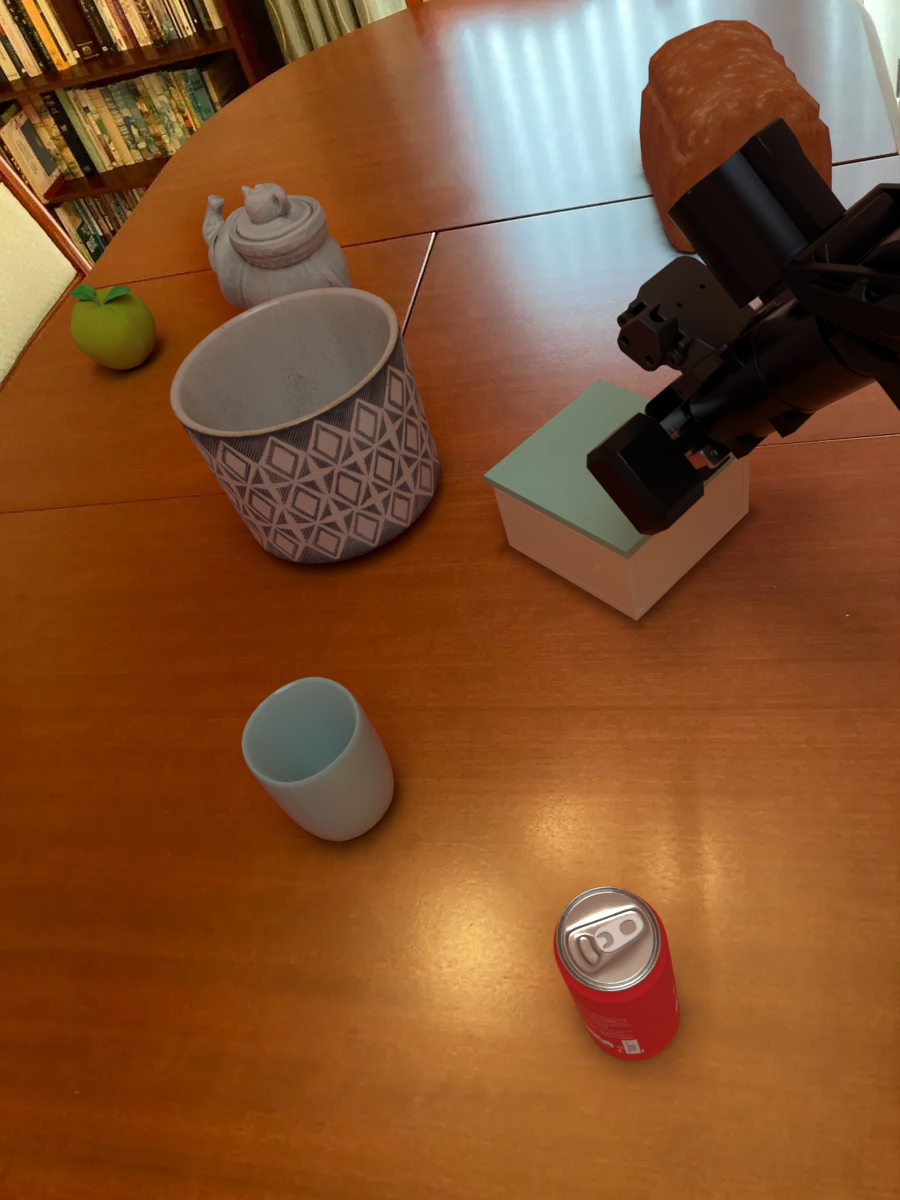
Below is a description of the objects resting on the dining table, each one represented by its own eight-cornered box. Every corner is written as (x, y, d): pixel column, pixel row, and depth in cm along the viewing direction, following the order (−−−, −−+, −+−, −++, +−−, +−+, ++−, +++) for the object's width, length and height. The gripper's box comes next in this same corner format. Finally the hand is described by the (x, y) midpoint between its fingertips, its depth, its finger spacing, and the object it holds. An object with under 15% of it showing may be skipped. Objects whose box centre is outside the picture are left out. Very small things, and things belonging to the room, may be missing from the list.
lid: (485, 482, 69) (483, 475, 68) (600, 386, 73) (599, 378, 73) (627, 559, 60) (626, 552, 60) (749, 445, 64) (749, 437, 64)
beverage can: (568, 992, 50) (531, 913, 41) (648, 948, 50) (627, 861, 42) (615, 1084, 46) (585, 1019, 38) (700, 1036, 47) (690, 961, 38)
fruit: (129, 337, 115) (87, 267, 107) (182, 341, 110) (142, 269, 103) (85, 381, 110) (38, 311, 103) (138, 387, 106) (92, 315, 98)
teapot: (247, 321, 110) (176, 171, 96) (362, 283, 109) (306, 126, 95) (248, 395, 99) (168, 238, 85) (376, 354, 97) (316, 188, 84)
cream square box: (509, 545, 74) (492, 486, 69) (616, 451, 78) (607, 389, 73) (636, 621, 65) (627, 560, 60) (749, 511, 69) (749, 446, 64)
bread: (778, 128, 108) (782, -10, 97) (837, 223, 92) (850, 70, 81) (637, 164, 111) (625, 34, 100) (671, 262, 95) (661, 119, 84)
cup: (341, 880, 58) (283, 810, 50) (279, 808, 63) (218, 735, 55) (429, 799, 60) (385, 721, 53) (362, 735, 65) (314, 655, 57)
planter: (481, 443, 83) (436, 287, 71) (394, 597, 73) (324, 445, 61) (314, 427, 91) (249, 285, 79) (215, 563, 81) (123, 424, 69)
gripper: (813, 152, 49) (667, 285, 64) (588, 333, 43) (485, 433, 58) (932, 311, 50) (760, 406, 65) (727, 509, 44) (591, 563, 59)
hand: (652, 446), depth 61 cm, fingers closed
